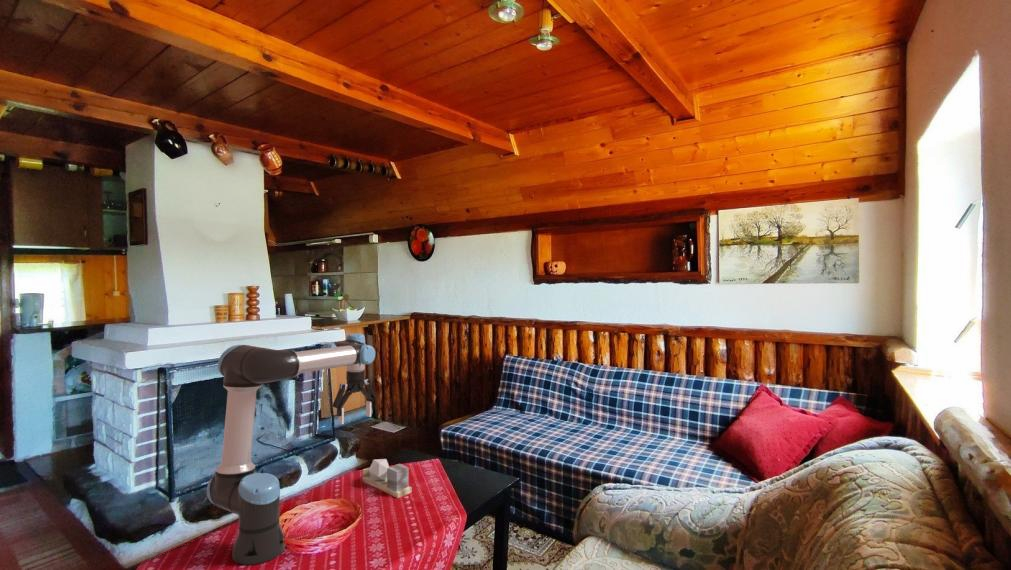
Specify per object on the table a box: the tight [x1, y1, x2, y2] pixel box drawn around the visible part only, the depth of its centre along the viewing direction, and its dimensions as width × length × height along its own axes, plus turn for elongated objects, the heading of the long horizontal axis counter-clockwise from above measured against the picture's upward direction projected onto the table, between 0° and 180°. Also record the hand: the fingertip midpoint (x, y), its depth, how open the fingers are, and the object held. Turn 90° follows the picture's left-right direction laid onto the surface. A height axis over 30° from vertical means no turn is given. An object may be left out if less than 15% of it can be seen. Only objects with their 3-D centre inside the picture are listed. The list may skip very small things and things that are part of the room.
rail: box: [361, 463, 413, 499], centre depth 207 cm, size 7×24×10 cm, turn 51°
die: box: [369, 458, 390, 481], centre depth 209 cm, size 8×9×10 cm
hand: (355, 419), depth 210 cm, fingers open, 13 cm apart
